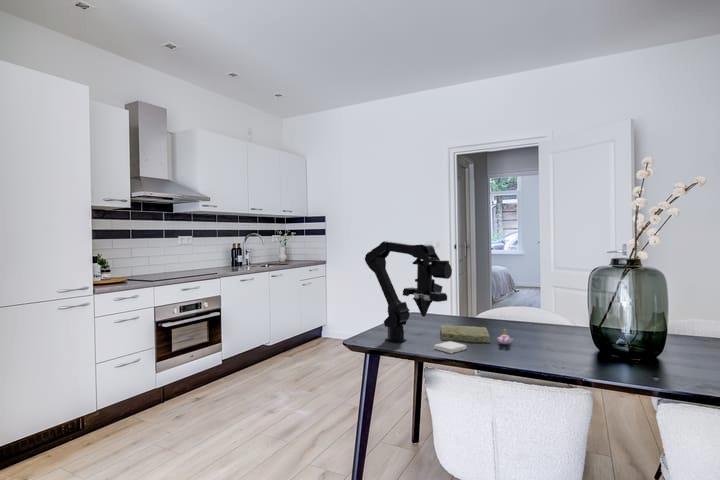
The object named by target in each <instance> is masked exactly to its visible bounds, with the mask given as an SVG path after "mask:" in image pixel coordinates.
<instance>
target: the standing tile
mask: <svg viewBox="0 0 720 480" xmlns="http://www.w3.org/2000/svg"><path fill="white" fill-rule="evenodd" d="M467 346H468V345H467V344H463V343H460V342H456V341H452V340H448V341H444V342H441V343H437V344H434V350H438V351H440V352H445V353H449V354H454V352H455V353H458V352H461V350H462V351H465V349H466V350H467V348H468V347H467Z"/></svg>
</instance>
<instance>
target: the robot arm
mask: <svg viewBox="0 0 720 480" xmlns="http://www.w3.org/2000/svg"><path fill="white" fill-rule="evenodd" d="M391 252H392V253H399V254H406V255H410V256H412V257H413V258H416V259H415V260H414V261H412V265H417V267H416V268H417V271H416V273H417V274H416V277H417V278H415V279H414V282H415V283H416V287H404V289H403V290H402V296H406V297H409V296H410V295H411V296H413V297H412V300H413V301H414V302H415V304H416V306H417V308H418V310H419V312H420V315H421V317H426V316H427V313H428V311H429V309H430V306H431V304H432V303H433V302H435V303H440V302H441V303H442V302H446V301H448V295H447V293H446V292H442V291H443V286H442V285H440V284H437V283H436V281H435V279H446V280H449V279H450V278H451V277H452V273H453V269H452V266H451V264H450V260H441V259H440V257H439V256H438V254H437V252H436V249H435V247H434V246H433V245H432V244H426V243H425V244H407V243H401V242H396V241H395V242H393V241H390V240H385V241H382V242H380V244H379V245H377V246H376V247H374V248H372V249H371V250H370V251H368V252H367V253H366V254H365V257H364V262H365V263H366V265H367V267H368V268H369V269H370V271H372V272H373V273H374V275H375V276H376V279H377V281H378V285H379V286H380V288H381V292H382V293H383V296H384V298H385V301H386V303H387V314H388V315H387V316H388V317H386V319H384V321H383V324H384V327H385V328H387V337H386V338H384V340H385V341H388V342H391V343H394V344H396V343H401V342H405V341H407V339H406V338H405V331H404V326H405V325H406V324H407V322H408V321H409V319H410V308H409V307H408V304H407V302H406V301H401V300H400V299H399V297H398V294H397V292H396V289H395V287H394V285H393V283H392V281H391V277H390V276H389V273H388V272H387V269H386V267H387V261H386V259H387V258H388V256H389V255H390V253H391ZM434 278H435V279H434Z"/></svg>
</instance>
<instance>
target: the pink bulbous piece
mask: <svg viewBox="0 0 720 480" xmlns="http://www.w3.org/2000/svg"><path fill="white" fill-rule="evenodd" d="M496 338H497V341H498V343H500V344H502V345H508V344H511V342H512V341H514V338H511V337H510V335H508V331H507V329H506V328H504V329H503V332H502V335H500V336H499V337H496Z"/></svg>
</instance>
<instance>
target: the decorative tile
mask: <svg viewBox="0 0 720 480" xmlns="http://www.w3.org/2000/svg"><path fill="white" fill-rule="evenodd" d="M440 336H441V341H454V342H465V341H466V343H485V342H486V343H488V344H489V343H491V337H490V334H489V330H488V329H487V327H485V326H470V325H469V326H463V325H448V324H443V325H441V327H440ZM486 343H485V344H486Z"/></svg>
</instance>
